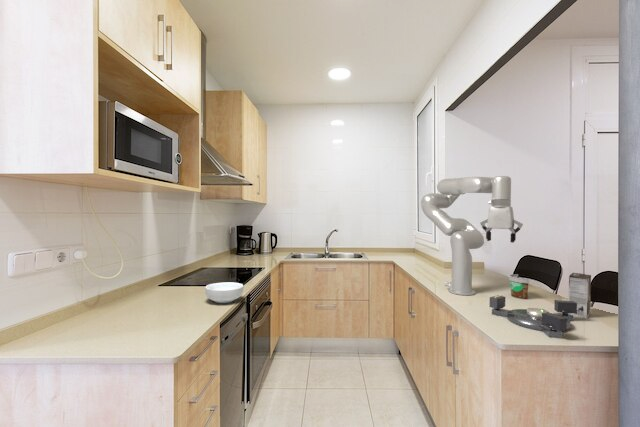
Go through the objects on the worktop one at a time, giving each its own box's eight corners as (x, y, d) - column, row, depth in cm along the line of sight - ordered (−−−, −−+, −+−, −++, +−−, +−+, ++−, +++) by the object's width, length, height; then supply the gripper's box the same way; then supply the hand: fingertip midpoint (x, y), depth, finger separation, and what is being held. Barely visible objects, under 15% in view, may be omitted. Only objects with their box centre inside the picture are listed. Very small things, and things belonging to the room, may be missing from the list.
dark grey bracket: (498, 309, 132) (498, 298, 132) (487, 306, 136) (488, 296, 136) (506, 306, 136) (507, 296, 136) (496, 304, 140) (496, 294, 140)
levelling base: (480, 321, 126) (481, 303, 126) (504, 305, 148) (504, 290, 148) (564, 341, 108) (565, 320, 108) (577, 319, 130) (577, 301, 130)
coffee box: (571, 309, 143) (572, 272, 143) (590, 313, 138) (591, 274, 138) (567, 314, 137) (568, 275, 136) (587, 318, 132) (588, 277, 132)
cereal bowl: (249, 302, 149) (249, 287, 149) (211, 308, 140) (211, 292, 140) (235, 294, 163) (235, 280, 163) (200, 299, 154) (200, 284, 154)
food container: (504, 293, 171) (504, 273, 171) (517, 293, 170) (517, 274, 170) (514, 299, 158) (515, 278, 158) (528, 300, 158) (529, 279, 157)
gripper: (478, 203, 154) (477, 240, 154) (520, 203, 142) (519, 243, 142) (483, 203, 159) (483, 239, 159) (525, 203, 147) (524, 242, 147)
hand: (500, 241), depth 151 cm, fingers open, 9 cm apart
